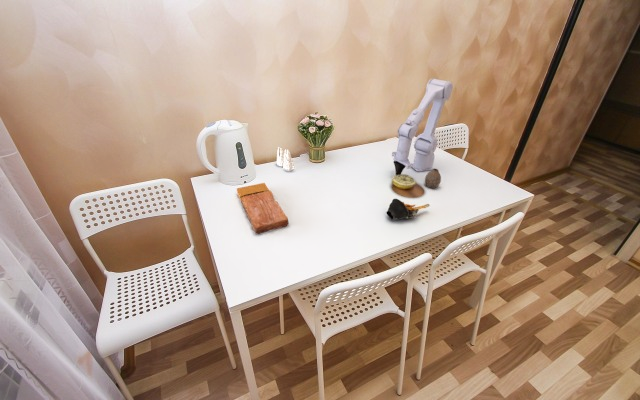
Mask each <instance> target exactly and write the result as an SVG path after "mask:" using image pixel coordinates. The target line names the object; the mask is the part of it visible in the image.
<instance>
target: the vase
mask: <svg viewBox="0 0 640 400" xmlns="http://www.w3.org/2000/svg"><path fill="white" fill-rule="evenodd" d="M441 181H442V176H441V174H440V171H439V169H438V168H432V170H429V172H427V174H426V175H425V179H424V183H425V185H426V187H427V188H429V189H435V188H437V187H439V185H440V184H441Z"/></svg>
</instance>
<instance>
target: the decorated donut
mask: <svg viewBox="0 0 640 400" xmlns="http://www.w3.org/2000/svg"><path fill="white" fill-rule="evenodd" d="M391 181H392V184H394V186H396V187H397V188H400V189H404V190H405V189H410V188H412V187H413V186H414V184H417V183H416V182H417V181H416V180H415V178H414V177H413V176H411V175H408V174H402V173H401V174H399V175H396V174H395V175H393V176H392V179H391Z"/></svg>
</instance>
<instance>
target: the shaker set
mask: <svg viewBox="0 0 640 400" xmlns="http://www.w3.org/2000/svg"><path fill="white" fill-rule="evenodd" d="M276 166H278V167H282V168H283V169H284V170H285V171H286V172H292V171H293V170H294V169H295V168H296V167H295V164H294V160H293V158H292V155H291V152H290V149H287V148H286V149H284V150H283V148H282V147H280V146H278V147H277V153H276Z"/></svg>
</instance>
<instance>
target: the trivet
mask: <svg viewBox="0 0 640 400" xmlns="http://www.w3.org/2000/svg"><path fill="white" fill-rule="evenodd" d="M391 190H392V191H393V192H394V193H395V194H397V195H398V196H400V197H403V198H408V199H415V198H416V199H417V198H421V197H422V196H424V194H425V189H424V187H422V185H420V184H418V183H416V184H414V186H413V187H412V188H410V189H405V190H404V189H400V188H397V187H396V186H394V184H393V183H392V184H391Z"/></svg>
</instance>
